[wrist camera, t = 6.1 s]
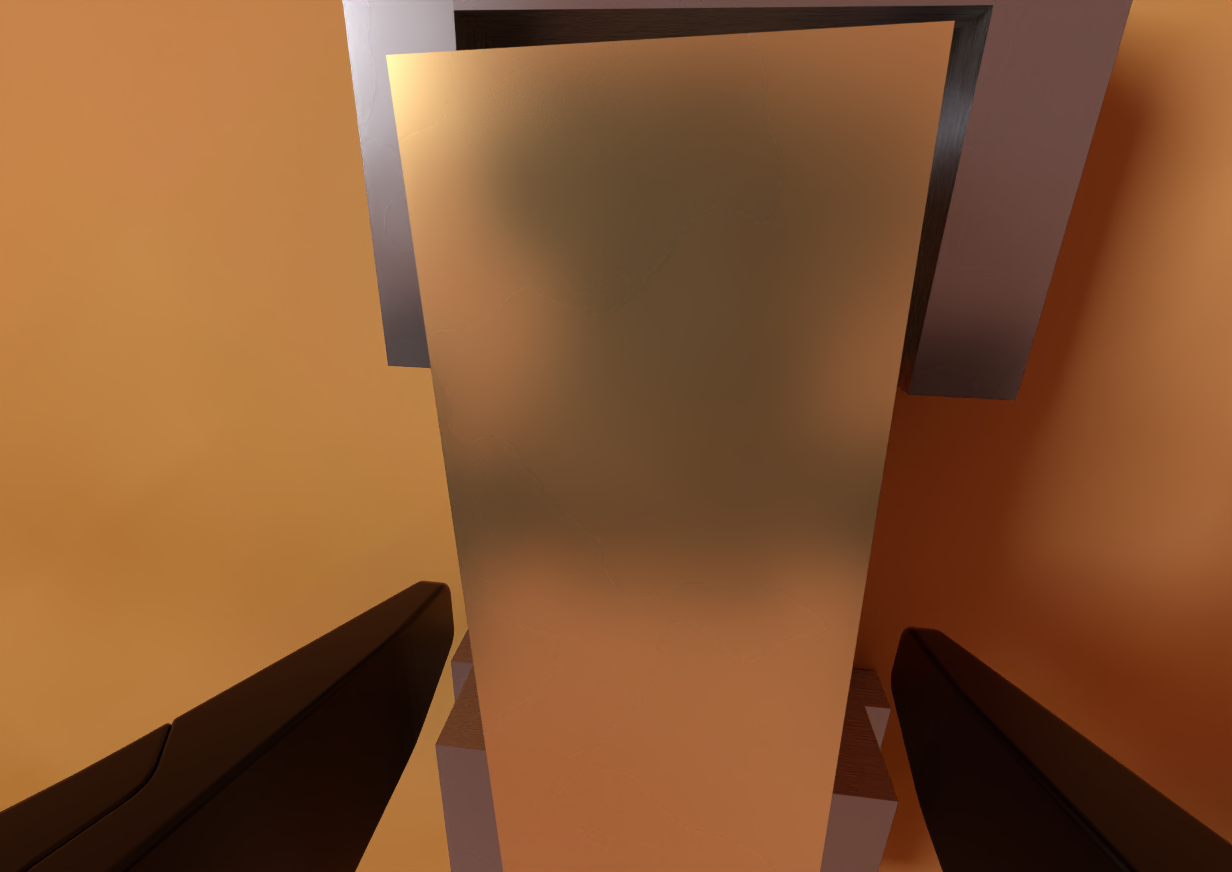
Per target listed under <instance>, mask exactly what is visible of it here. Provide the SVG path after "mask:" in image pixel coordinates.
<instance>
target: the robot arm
mask: <svg viewBox="0 0 1232 872" xmlns="http://www.w3.org/2000/svg"><path fill="white" fill-rule="evenodd" d="M453 636H454V622H453V612H452V602H451V592H450V589H449V586H448V585H447V584H445V583H440V582H430V581H420V582H418V583H416V584H414V585H412V586H410V587H409V588H407V589H405V590H403V591H401V592H400V593H398V594H396V595H394V596H393V597H391V598H389V599H387V600H385V601H384V602H382V603H380V604H378V605H377V606H375V607H373V608H371V609H369V610H368V611H366V612H364V613H362V614H361V615H359V616H357V617H355V618H353V619H352V620H350V621H348V622H346V623H345V624H343V625H341V626H339V627H337V628H336V629H334V630H332V631H330V632H329V633H327V634H325V635H323V636H321V637H320V638H318V639H316V640H314V641H313V642H311V643H309V644H307V645H305V646H304V647H302V648H300V649H298V650H297V651H295V652H293V653H291V654H289V655H288V656H286V657H284V658H282V659H281V660H279V661H277V662H275V663H273V664H272V665H270V666H268V667H266V668H265V669H263V670H261V671H259V672H257V673H256V674H254V675H252V676H250V677H249V678H247V679H245V680H243V681H241V682H240V683H238V684H236V685H234V686H232V687H231V688H229V689H227V690H225V691H224V692H222V693H220V694H218V695H216V696H215V697H213V698H211V699H209V700H208V701H206V702H204V703H202V704H200V705H199V706H197V707H195V708H193V709H192V710H190V711H188V712H186V713H184V714H183V715H181V716H179V717H177V718H176V719H174V721H173V723H172V725H171V724H169V723H167V724H164V725H163V726H161V727H159V728H158V729H156V730H154V731H152V732H150V733H149V734H147V735H145V736H143V737H142V738H140V739H138V740H136V741H134V742H133V743H131V744H129V745H127V746H125V747H123V748H122V749H120V750H118V751H116V752H114V753H112V754H111V755H109V756H107V757H105V758H103V759H101V760H100V761H98V762H96V763H94V764H92V765H90V766H89V767H87V768H85V769H83V770H81V771H79V772H78V773H76V774H74V775H72V776H70V777H68V778H66V779H64V780H62V781H60V782H58V783H56V784H54V785H52V786H50V787H48V788H47V789H45V790H43V791H41V792H39V793H37V794H35V795H33V796H31V797H29V798H27V799H25V800H23V801H21V802H19V803H17V804H15V805H13V806H11V807H9V808H7V809H5V810H3V811H1V812H0V872H355V871H356V869H357V867H358V865H359V863H360V860H361V858H362V856H363V854H364V852H365V850H366V848H367V846H368V844H369V842H370V840H371V838H372V835H373V833H374V831H375V829H376V827H377V825H378V823H379V821H380V819H381V817H382V815H383V812H384V810H385V808H386V806H387V804H388V802H389V800H390V798H391V796H392V794H393V792H394V790H395V787H396V785H397V783H398V781H399V779H400V777H401V775H402V773H403V771H404V769H405V767H406V765H407V762H408V760H409V758H410V756H411V754H412V751H413V749H414V747H415V745H416V743H417V740H418V737H419V735H420V732H421V729H422V727H423V724H424V721H425V718H426V716H427V713H428V710H429V707H430V704H431V702H432V699H433V696H434V693H435V690H436V688H437V685H438V682H439V679H440V676H441V674H442V671H443V668H444V665H445V662H446V660H447V657H448V654H449V651H450V648H451V645H452V642H453ZM891 689H892V694H893V698H894V702H895V706H896V711H897V715H898V719H899V723H900V727H901V731H902V735H903V739H904V744H905V748H906V752H907V756H908V760H909V764H910V768H911V773H912V777H913V781H914V785H915V789H916V793H917V796H918V800H919V804H920V807H921V810H922V813H923V816H924V819H925V822H926V825H927V828H928V831H929V834H930V837H931V839H932V842H933V845H934V848H935V851H936V854H937V856H938V859H939V862H940V865H941V868H942V871H943V872H1232V844H1230V843H1229V842H1228V841H1226V840H1225V839H1223V838H1222V837H1221V836H1219V835H1218V834H1217V833H1215V832H1214V831H1213V830H1211V829H1210V828H1208V827H1207V826H1206V825H1204V824H1203V823H1202V822H1200V821H1199V820H1197V819H1196V818H1195V817H1193V816H1192V815H1191V814H1189V813H1188V812H1187V811H1185V810H1184V809H1182V808H1181V807H1180V806H1178V805H1177V804H1176V803H1174V802H1173V801H1172V800H1170V799H1169V798H1167V797H1166V796H1165V795H1163V794H1162V793H1161V792H1159V791H1158V790H1157V789H1155V788H1154V787H1152V786H1151V785H1150V784H1148V783H1147V782H1146V781H1144V780H1143V779H1142V778H1140V777H1139V776H1137V775H1136V774H1135V773H1133V772H1132V771H1131V770H1129V769H1128V768H1127V767H1125V766H1124V765H1122V764H1121V763H1120V762H1118V761H1117V760H1116V759H1114V758H1113V757H1111V756H1110V755H1109V754H1107V753H1106V752H1105V751H1103V750H1102V749H1101V748H1099V747H1098V746H1096V745H1095V744H1094V743H1092V742H1091V741H1090V740H1088V739H1087V738H1086V737H1084V736H1083V735H1081V734H1080V733H1079V732H1077V731H1076V730H1075V729H1073V728H1072V727H1071V726H1069V725H1068V724H1066V723H1065V722H1064V721H1062V720H1061V719H1060V718H1058V717H1057V716H1056V715H1054V714H1053V713H1051V712H1050V711H1049V710H1047V709H1046V708H1045V707H1043V706H1042V705H1041V704H1039V703H1038V702H1036V701H1035V700H1034V699H1032V698H1031V697H1030V696H1028V695H1027V694H1025V693H1024V692H1023V691H1021V690H1020V689H1019V688H1017V687H1016V686H1015V685H1013V684H1012V683H1010V682H1009V681H1008V680H1006V679H1005V678H1004V677H1002V676H1001V675H1000V674H998V673H997V672H995V671H994V670H993V669H991V668H990V667H989V666H987V665H986V664H985V663H983V662H982V661H980V660H979V659H978V658H976V657H975V656H974V655H972V654H971V653H970V652H968V651H967V650H965V649H964V648H963V647H961V646H960V645H959V644H957V643H956V642H955V641H953V640H952V639H950V638H949V637H948V636H946V635H945V634H944V633H942V632H941V631H939V630H936V629H929V628H919V627H908V628H906V629H904V631H903V632H902V634H901V638H900V641H899V645H898V649H897V653H896V657H895V661H894V665H893V669H892V673H891Z"/></svg>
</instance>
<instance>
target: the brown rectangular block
mask: <svg viewBox="0 0 1232 872" xmlns="http://www.w3.org/2000/svg"><path fill="white" fill-rule="evenodd" d="M954 23H955V21H940V22H923V23H907V24H890V25H874V26H857V27H841V28H824V29H808V30H791V31H775V32H758V33H742V34H725V35H709V36H692V37H675V38H659V39H642V40H626V41H609V42H593V43H576V44H560V45H543V46H527V47H510V48H494V49H477V50H461V51H444V52H428V53H411V54H394V55H386V59H387V66H388V73H389V80H390V87H391V94H392V101H393V108H394V115H395V122H396V128H397V135H398V142H399V149H400V156H401V163H402V170H403V177H404V184H405V191H406V198H407V205H408V212H409V219H410V226H411V233H412V240H413V247H414V254H415V261H416V268H417V275H418V282H419V289H420V296H421V302H422V309H423V316H424V323H425V330H426V337H427V344H428V351H429V358H430V365H431V372H432V379H433V386H434V393H435V400H436V407H437V414H438V421H439V428H440V435H441V442H442V449H443V456H444V463H445V470H446V476H447V483H448V490H449V497H450V504H451V511H452V518H453V525H454V532H455V539H456V546H457V553H458V560H459V567H460V574H461V581H462V588H463V595H464V602H465V609H466V616H467V623H468V630H469V637H470V644H471V651H472V657H473V664H474V671H475V678H476V685H477V692H478V699H479V706H480V713H481V720H482V727H483V734H484V741H485V748H486V755H487V762H488V769H489V776H490V783H491V790H492V797H493V804H494V811H495V818H496V825H497V831H498V838H499V845H500V852H501V859H502V866H503V872H820V869H821V862H822V856H823V850H824V843H825V837H826V831H827V824H828V818H829V812H830V805H831V799H832V793H833V786H834V780H835V774H836V768H837V761H838V755H839V749H840V742H841V736H842V730H843V723H844V717H845V711H846V704H847V698H848V692H849V686H850V679H851V673H852V667H853V660H854V654H855V648H856V641H857V635H858V629H859V622H860V616H861V610H862V603H863V597H864V591H865V585H866V578H867V572H868V566H869V559H870V553H871V547H872V540H873V534H874V528H875V521H876V515H877V509H878V503H879V496H880V490H881V484H882V477H883V471H884V465H885V458H886V452H887V446H888V439H889V433H890V427H891V421H892V414H893V408H894V402H895V395H896V389H897V383H898V376H899V370H900V364H901V357H902V351H903V345H904V338H905V332H906V326H907V320H908V313H909V307H910V301H911V294H912V288H913V282H914V275H915V269H916V263H917V256H918V250H919V244H920V238H921V231H922V225H923V219H924V212H925V206H926V200H927V193H928V187H929V181H930V174H931V168H932V162H933V156H934V149H935V143H936V137H937V130H938V124H939V118H940V111H941V105H942V99H943V92H944V86H945V80H946V73H947V67H948V61H949V55H950V48H951V42H952V36H953V29H954Z"/></svg>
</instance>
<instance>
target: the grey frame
mask: <svg viewBox="0 0 1232 872" xmlns="http://www.w3.org/2000/svg"><path fill="white" fill-rule="evenodd" d="M1132 1H1133V0H343V7H344V15H345V24H346V32H347V40H348V48H349V56H350V64H351V72H352V80H353V88H354V96H355V104H356V112H357V120H358V128H359V136H360V144H361V152H362V160H363V168H364V176H365V184H366V192H367V200H368V208H369V216H370V224H371V232H372V240H373V248H374V256H375V264H376V272H377V280H378V288H379V296H380V304H381V312H382V320H383V328H384V336H385V344H386V352H387V360H388V366H403V367H421V368H431V365H430V358H429V351H428V344H427V337H426V330H425V323H424V316H423V309H422V302H421V296H420V289H419V282H418V275H417V268H416V261H415V254H414V247H413V240H412V233H411V226H410V219H409V212H408V205H407V198H406V191H405V184H404V177H403V170H402V163H401V156H400V149H399V142H398V135H397V128H396V122H395V115H394V108H393V101H392V94H391V87H390V80H389V73H388V66H387V59H386V55H394V54H411V53H428V52H444V51H461V50H477V49H494V48H510V47H527V46H543V45H560V44H576V43H593V42H609V41H626V40H642V39H659V38H675V37H692V36H709V35H725V34H742V33H758V32H775V31H791V30H808V29H824V28H841V27H857V26H874V25H890V24H907V23H923V22H940V21H955V23H954V29H953V36H952V42H951V48H950V55H949V61H948V67H947V73H946V80H945V86H944V92H943V99H942V105H941V111H940V118H939V124H938V130H937V137H936V143H935V149H934V156H933V162H932V168H931V174H930V181H929V187H928V193H927V200H926V206H925V212H924V219H923V225H922V231H921V238H920V244H919V250H918V256H917V263H916V269H915V275H914V282H913V288H912V294H911V301H910V307H909V313H908V320H907V326H906V332H905V338H904V345H903V351H902V357H901V364H900V370H899V376H898V383H897V385H898V386H899V387H900V388H901V389H902V390H904V391H905V392H906V393H907V394H908V395H926V396H944V397H962V398H980V399H999V400H1016V398H1017V394H1018V391H1019V388H1020V384H1021V381H1022V377H1023V374H1024V370H1025V367H1026V364H1027V360H1028V357H1029V353H1030V350H1031V347H1032V343H1033V340H1034V336H1035V333H1036V329H1037V326H1038V323H1039V319H1040V316H1041V312H1042V309H1043V305H1044V302H1045V299H1046V295H1047V292H1048V288H1049V285H1050V281H1051V278H1052V275H1053V271H1054V268H1055V264H1056V261H1057V258H1058V254H1059V251H1060V247H1061V244H1062V240H1063V237H1064V234H1065V230H1066V227H1067V223H1068V220H1069V216H1070V213H1071V210H1072V206H1073V203H1074V199H1075V196H1076V193H1077V189H1078V186H1079V182H1080V179H1081V175H1082V172H1083V169H1084V165H1085V162H1086V158H1087V155H1088V151H1089V148H1090V145H1091V141H1092V138H1093V134H1094V131H1095V127H1096V124H1097V121H1098V117H1099V114H1100V110H1101V107H1102V104H1103V100H1104V97H1105V93H1106V90H1107V86H1108V83H1109V80H1110V76H1111V73H1112V69H1113V66H1114V62H1115V59H1116V56H1117V52H1118V49H1119V45H1120V42H1121V38H1122V35H1123V32H1124V28H1125V25H1126V21H1127V18H1128V15H1129V11H1130V8H1131V4H1132ZM451 666H452V676H453V685H454V695H455V704H454V706H453V709H452V711H451V713H450V715H449V717H448V719H447V721H446V723H445V725H444V727H443V730H442V732H441V734H440V736H439V738H438V740H437V742H436V744H435V745H436V753H437V761H438V769H439V778H440V786H441V794H442V802H443V810H444V818H445V826H446V834H447V842H448V850H449V858H450V866H451V872H503V866H502V859H501V852H500V845H499V838H498V831H497V825H496V818H495V811H494V804H493V797H492V790H491V783H490V776H489V769H488V762H487V755H486V748H485V741H484V734H483V727H482V720H481V713H480V706H479V699H478V692H477V685H476V678H475V671H474V664H473V657H472V651H471V644H470V637H469V630H467V632H466V634H465V636H464V638H463V639H462V641H461V643H460V645H459V647H458V649H457V651H456V653H455V655H454V657H453V658H452V660H451ZM890 711H891V708H890V705H889V703H888V700H887V698H886V695H885V693H884V690H883V688H882V685H881V683H880V680H879V678H878V675H877V673H876V671H867V670H857V669H852V673H851V679H850V686H849V692H848V698H847V704H846V711H845V717H844V723H843V730H842V736H841V742H840V749H839V755H838V761H837V768H836V774H835V780H834V786H833V793H832V799H831V805H830V812H829V818H828V824H827V831H826V837H825V843H824V850H823V856H822V862H821V869H820V872H878V870H879V867H880V863H881V860H882V856H883V853H884V850H885V846H886V843H887V839H888V836H889V833H890V829H891V826H892V822H893V819H894V815H895V812H896V809H897V805H898V799H897V796H896V793H895V791H894V788H893V785H892V782H891V779H890V776H889V774H888V771H887V768H886V765H885V762H884V759H883V757H882V754H881V751H880V749H881V745H882V741H883V737H884V734H885V730H886V726H887V722H888V718H889V715H890Z"/></svg>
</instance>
